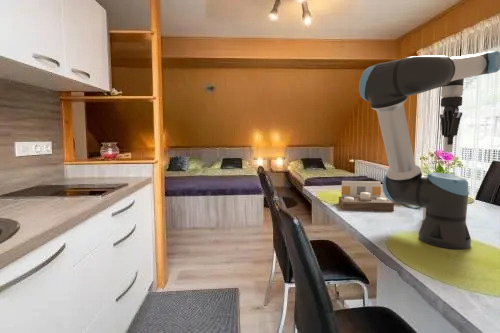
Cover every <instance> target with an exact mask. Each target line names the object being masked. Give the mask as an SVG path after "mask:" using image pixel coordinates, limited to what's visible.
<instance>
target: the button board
mask: <svg viewBox="0 0 500 333" xmlns="http://www.w3.org/2000/svg"><path fill="white" fill-rule="evenodd" d="M353 198H354V201H350V200H344V197H341V196H338V205H339V207H340V208H341V209H342V211H343V210H344V211H377V212H381V211H382V212H394V210H395V202H394V201H391V200H389V199H388V198H387V197H385V198H386V199H387V201H377V200H376V198H374V197H370V201H361V200H360V197H353Z"/></svg>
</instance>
